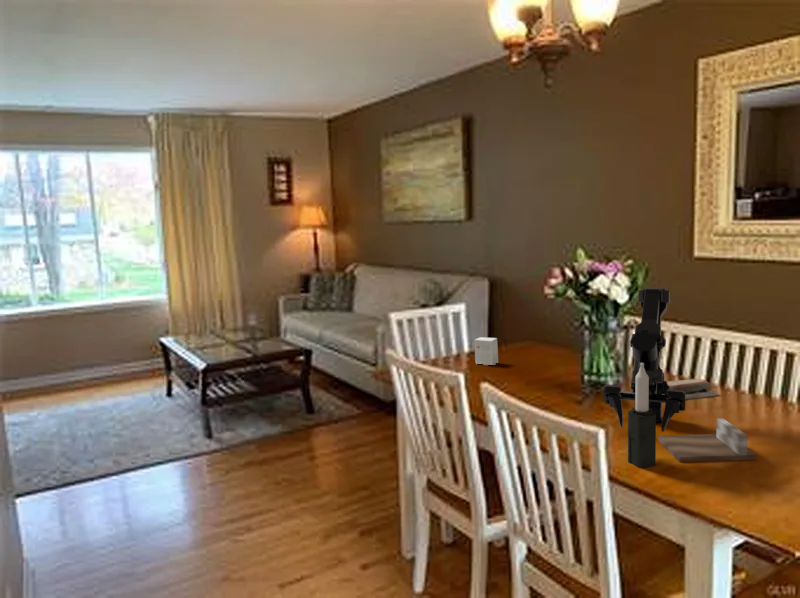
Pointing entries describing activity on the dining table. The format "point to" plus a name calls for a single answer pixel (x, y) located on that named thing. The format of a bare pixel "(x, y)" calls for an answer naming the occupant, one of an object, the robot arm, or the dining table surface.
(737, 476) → the dining table surface
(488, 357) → the small box
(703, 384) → the packaged product
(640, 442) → the candle
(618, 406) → the robot arm
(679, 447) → the shelf board
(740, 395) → the dining table surface
